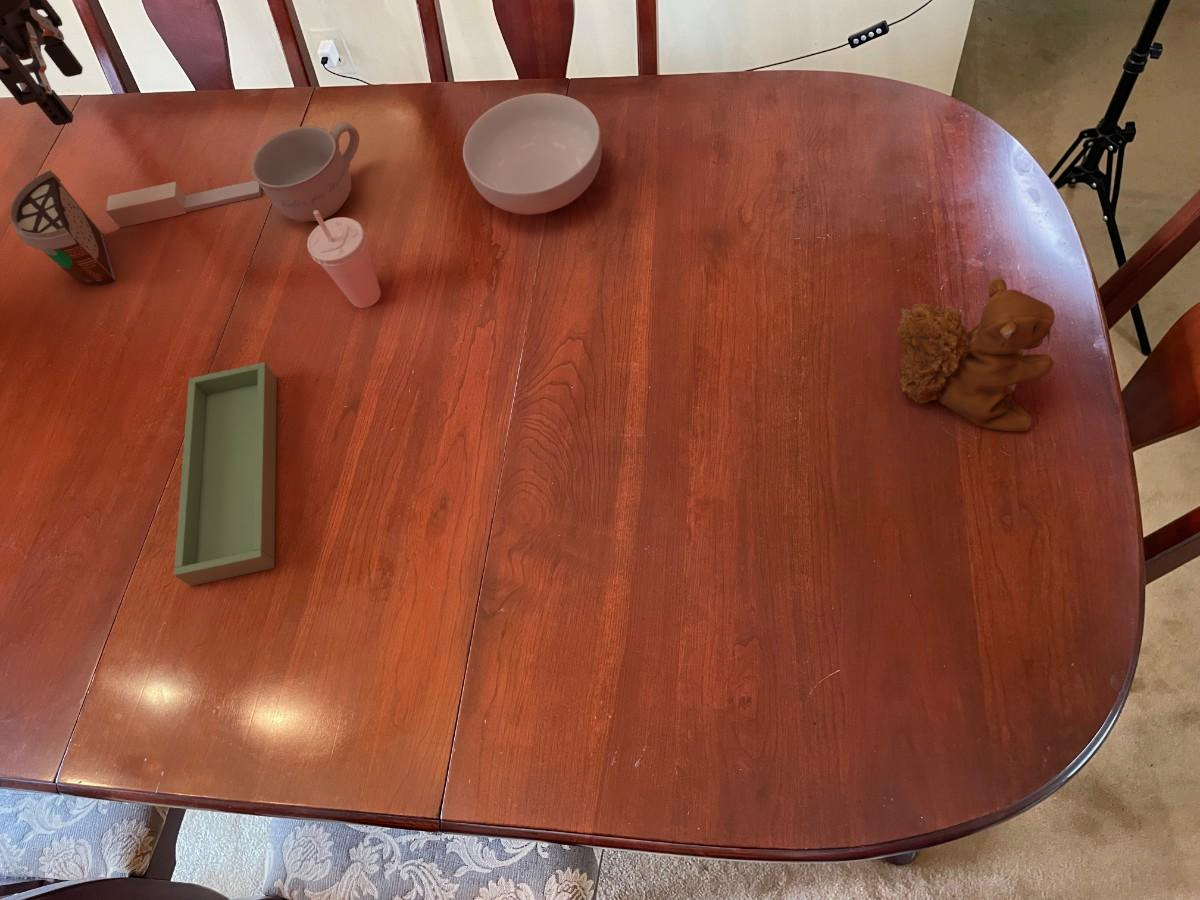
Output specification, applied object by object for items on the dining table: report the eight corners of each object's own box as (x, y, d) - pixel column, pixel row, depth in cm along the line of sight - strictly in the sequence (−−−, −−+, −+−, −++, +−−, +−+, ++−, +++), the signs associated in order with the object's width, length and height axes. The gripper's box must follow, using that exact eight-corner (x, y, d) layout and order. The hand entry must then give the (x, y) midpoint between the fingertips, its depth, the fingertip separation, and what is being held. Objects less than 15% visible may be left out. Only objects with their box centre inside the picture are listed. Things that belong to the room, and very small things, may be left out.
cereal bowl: (482, 141, 111) (470, 96, 105) (608, 134, 110) (603, 87, 103) (468, 238, 103) (453, 195, 97) (603, 232, 101) (597, 187, 95)
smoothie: (328, 303, 100) (276, 218, 88) (363, 267, 103) (318, 178, 91) (367, 324, 98) (320, 240, 86) (403, 287, 100) (361, 199, 88)
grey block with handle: (119, 228, 111) (105, 211, 108) (122, 212, 112) (108, 195, 110) (261, 197, 111) (251, 179, 108) (262, 182, 112) (251, 165, 110)
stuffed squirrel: (1034, 435, 82) (1087, 356, 71) (883, 423, 85) (911, 344, 73) (1027, 352, 87) (1076, 265, 76) (884, 342, 89) (910, 256, 78)
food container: (54, 245, 110) (-1, 187, 102) (100, 226, 111) (49, 167, 103) (69, 308, 104) (12, 252, 96) (117, 288, 105) (65, 230, 97)
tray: (274, 568, 84) (260, 556, 81) (189, 586, 84) (173, 575, 81) (276, 376, 96) (264, 361, 93) (202, 392, 96) (188, 377, 93)
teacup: (297, 247, 106) (268, 199, 99) (265, 198, 111) (235, 149, 104) (395, 195, 108) (373, 145, 101) (359, 149, 113) (337, 99, 106)
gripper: (-62, -75, 86) (47, 66, 100) (-94, 7, 79) (28, 146, 93) (10, -91, 86) (109, 52, 100) (-16, -10, 79) (95, 131, 93)
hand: (70, 97), depth 96 cm, fingers open, 8 cm apart
